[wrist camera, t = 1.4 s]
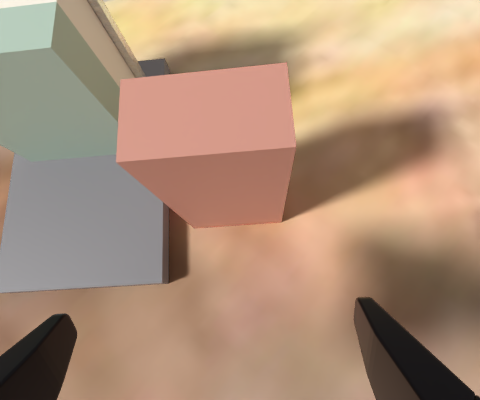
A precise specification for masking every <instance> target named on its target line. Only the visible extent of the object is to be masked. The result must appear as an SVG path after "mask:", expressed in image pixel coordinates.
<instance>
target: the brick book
mask: <svg viewBox="0 0 480 400" xmlns="http://www.w3.org/2000/svg"><path fill="white" fill-rule="evenodd" d="M295 151H296V139H295V130H294V121H293V113H292V104H291V95H290V86H289V77H288V68H287V63H277V64H267V65H257V66H247V67H238V68H228V69H218V70H208V71H199V72H189V73H179V74H169V75H160V76H150V77H140V78H130V79H120V97H119V116H118V134H117V152H116V163H117V164H119V165H120V166H121V167H122V168H123V169H124V170H126V171H127V172H128V173H129V174H130V175H132V176H133V177H134V178H135V179H136V180H138V181H139V182H140V183H141V184H142V185H143V186H145V187H146V188H147V189H148V190H149V191H151V192H152V193H153V194H154V195H155V196H156V197H158V198H159V199H160V200H161V201H162V202H164V203H165V204H166V205H167V206H168V207H170V208H171V209H172V210H173V211H174V212H175V213H177V214H178V215H179V216H180V217H181V218H183V219H184V220H185V221H186V222H187V223H188V224H190V225H191V226H192V227H193V228H208V227H222V226H236V225H250V224H264V223H279V222H282V217H283V212H284V207H285V202H286V197H287V192H288V187H289V181H290V176H291V171H292V166H293V161H294V156H295Z"/></svg>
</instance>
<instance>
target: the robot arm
mask: <svg viewBox="0 0 480 400" xmlns="http://www.w3.org/2000/svg"><path fill="white" fill-rule="evenodd" d="M354 323H355V328H356V332H357V336H358V340H359V344H360V348H361V352H362V356H363V360H364V364H365V368H366V372H367V375H368V378H369V381H370V384H371V387H372V390H373V393H374V395H375V398H376V400H480V397H479V396H477V395H476V396H475V393H474V392H473V391H472V390H471V389H470V388H469V387H468V386H467V385H465V384H464V383H463V382H462V381H461V380H460V379H459V378H458V377H457V376H456V375H455V374H454V373H452V372H451V371H450V370H449V369H448V368H447V367H446V366H445V365H444V364H443V363H442V362H441V361H439V360H438V359H437V358H436V357H435V356H434V355H433V354H432V353H431V352H430V351H429V350H428V349H426V348H425V347H424V346H423V345H422V344H421V343H420V342H419V341H418V340H417V339H416V338H415V337H413V336H412V335H411V334H410V333H409V332H408V331H407V330H406V329H405V328H404V327H403V326H401V325H400V324H399V323H398V322H397V321H396V320H395V319H394V318H393V317H392V316H391V315H390V314H388V313H387V312H386V311H385V310H384V309H383V308H382V307H381V306H380V305H379V304H378V303H377V302H375V301H374V300H373V299H372V298H370V297H359V298H357V299H356V301H355V310H354ZM76 339H77V330H76V328H75V326H74V324H73V322H72V320H71V318H70V316H69V315H68V314H55V315H52V316H51V317H50V318H48V319H47V320H46V321H44V322H43V323H42V324H41V325H39V326H38V327H37V328H36V329H34V330H33V331H32V332H30V333H29V334H28V335H27V336H25V337H24V338H23V339H21V340H20V341H19V342H18V343H16V344H15V345H14V346H13V347H11V348H10V349H9V350H7V351H6V352H5V353H4V354H2V355H1V356H0V400H57V398H58V395H59V393H60V390H61V387H62V384H63V382H64V379H65V375H66V372H67V369H68V365H69V362H70V359H71V355H72V352H73V349H74V346H75V342H76Z"/></svg>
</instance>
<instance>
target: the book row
mask: <svg viewBox="0 0 480 400" xmlns="http://www.w3.org/2000/svg"><path fill="white" fill-rule="evenodd" d="M130 78H135V76H134V75H133V73H132V72H131V70H130V68H129V67H128V65H127V64H126V62H125V60H124V59H123V57H122V56H121V54H120V52H119V51H118V49H117V48H116V46H115V44H114V43H113V41H112V40H111V38H110V36H109V35H108V33H107V32H106V30H105V28H104V27H103V25H102V23H101V22H100V20H99V19H98V17H97V15H96V14H95V12H94V11H93V9H92V7H91V6H90V4H89V3H88V1H87V0H0V145H1V146H3V147H5V148H7V149H9V150H11V151H12V152H14V153H16V154H18V155H20V156H22V157H24V158H25V159H27V160H29V161H31V162H34V161H45V160H57V159H69V158H80V157H92V156H103V155H115V154H116V152H117V134H118V116H119V97H120V79H130Z"/></svg>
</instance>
